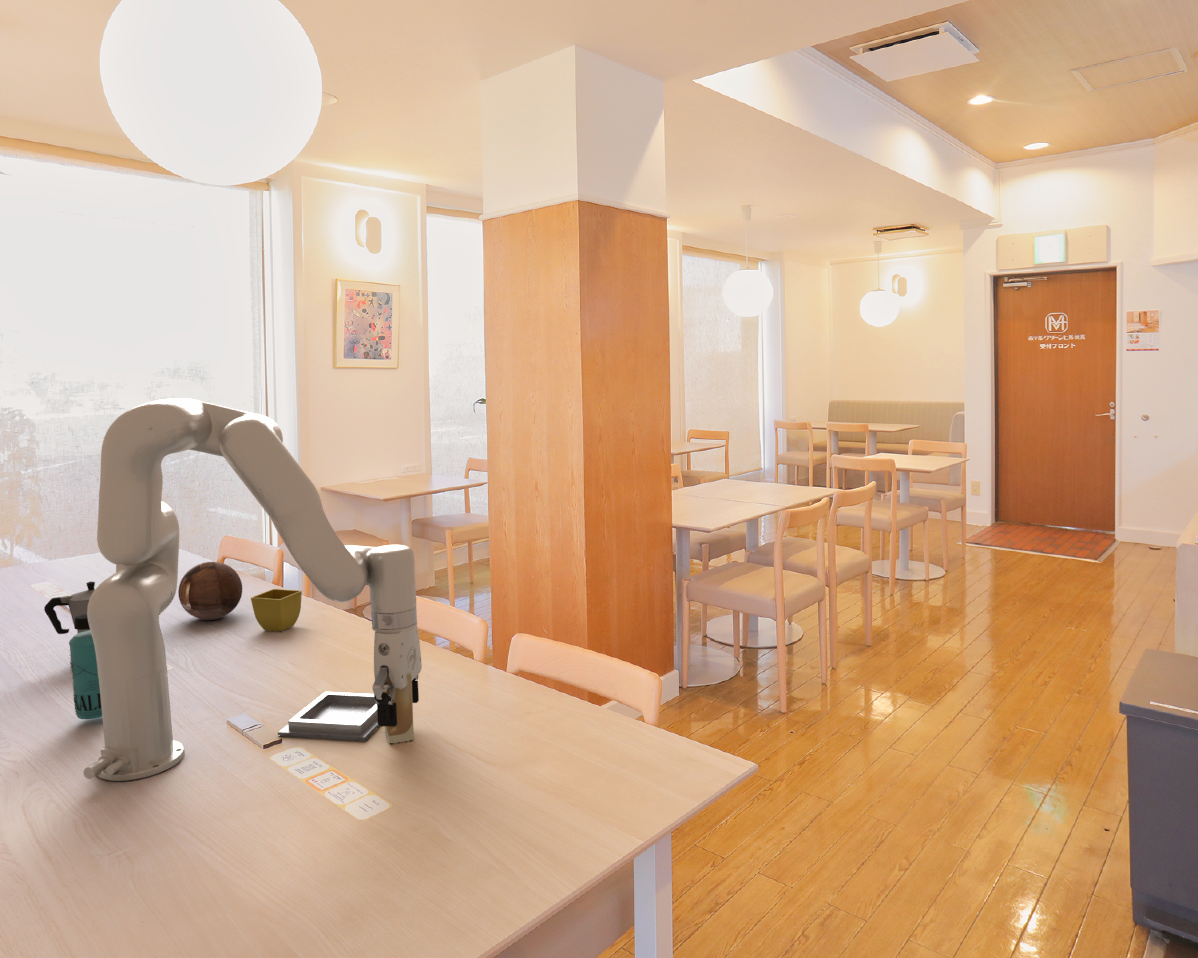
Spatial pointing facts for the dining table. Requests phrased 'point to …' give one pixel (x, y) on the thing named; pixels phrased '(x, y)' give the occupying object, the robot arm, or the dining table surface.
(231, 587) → the wooden sphere
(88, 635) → the beverage bottle
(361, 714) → the square metal tray
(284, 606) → the flower pot
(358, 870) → the dining table surface
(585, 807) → the dining table surface
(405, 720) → the skincare box
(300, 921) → the dining table surface
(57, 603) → the coffeepot
